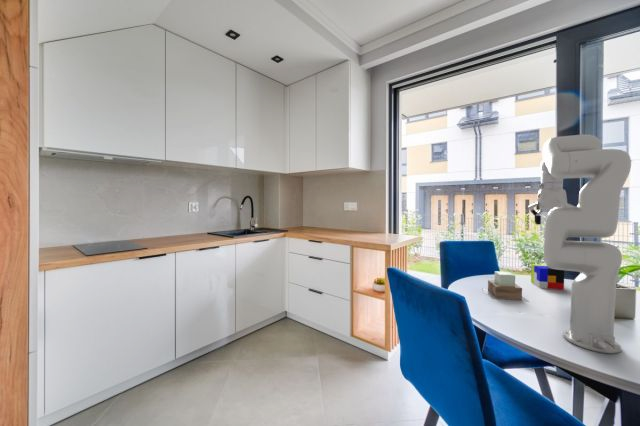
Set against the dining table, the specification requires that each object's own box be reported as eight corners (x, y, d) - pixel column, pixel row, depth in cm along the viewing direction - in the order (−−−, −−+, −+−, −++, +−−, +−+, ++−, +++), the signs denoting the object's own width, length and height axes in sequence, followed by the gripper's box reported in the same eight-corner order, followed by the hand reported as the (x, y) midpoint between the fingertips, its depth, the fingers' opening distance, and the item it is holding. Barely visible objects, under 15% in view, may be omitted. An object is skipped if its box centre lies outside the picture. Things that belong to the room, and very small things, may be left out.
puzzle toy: (539, 287, 135) (539, 268, 135) (531, 282, 145) (531, 263, 144) (563, 289, 132) (564, 269, 132) (553, 283, 142) (554, 265, 141)
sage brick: (515, 286, 119) (515, 275, 118) (499, 285, 120) (500, 274, 120) (508, 282, 124) (509, 271, 124) (494, 281, 126) (494, 271, 126)
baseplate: (529, 304, 114) (529, 301, 114) (492, 301, 118) (492, 298, 118) (514, 293, 127) (514, 290, 127) (481, 291, 131) (481, 288, 131)
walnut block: (521, 299, 116) (522, 288, 116) (495, 297, 119) (496, 286, 119) (511, 291, 126) (512, 281, 126) (487, 290, 129) (488, 280, 128)
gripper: (533, 186, 120) (532, 224, 120) (580, 186, 115) (579, 225, 116) (525, 187, 127) (524, 223, 128) (569, 186, 122) (567, 224, 123)
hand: (550, 224), depth 122 cm, fingers open, 9 cm apart
